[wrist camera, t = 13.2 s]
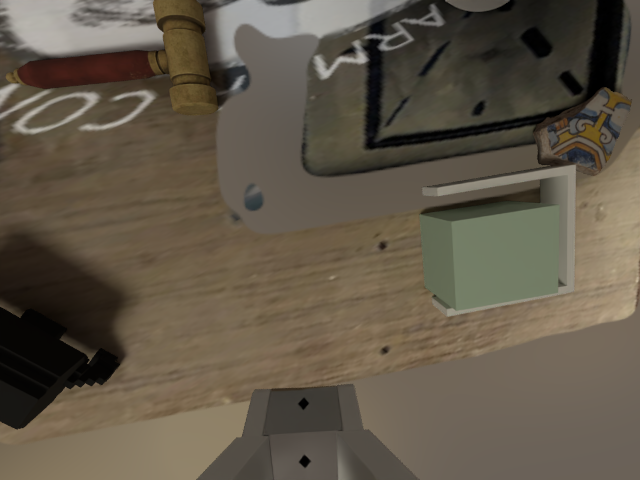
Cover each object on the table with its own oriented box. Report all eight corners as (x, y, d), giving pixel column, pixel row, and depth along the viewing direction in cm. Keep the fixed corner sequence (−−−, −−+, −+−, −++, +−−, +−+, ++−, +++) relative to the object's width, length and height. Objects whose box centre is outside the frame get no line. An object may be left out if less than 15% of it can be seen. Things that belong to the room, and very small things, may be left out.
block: (418, 214, 38) (451, 221, 31) (506, 200, 39) (559, 204, 31) (424, 286, 40) (456, 310, 33) (507, 272, 41) (558, 292, 33)
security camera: (103, 387, 39) (39, 456, 29) (-40, 309, 35) (-169, 357, 25) (133, 347, 38) (78, 403, 28) (-10, 264, 34) (-130, 295, 25)
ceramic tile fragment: (617, 63, 34) (656, 131, 36) (589, 73, 37) (626, 135, 39) (534, 136, 35) (576, 199, 37) (514, 140, 38) (554, 197, 40)
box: (422, 187, 38) (437, 187, 34) (547, 166, 39) (575, 164, 35) (432, 303, 41) (447, 316, 37) (547, 281, 42) (574, 291, 38)
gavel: (0, 124, 29) (-33, 11, 28) (41, 132, 34) (15, 35, 32) (210, 102, 30) (191, -12, 28) (224, 113, 34) (208, 16, 32)
